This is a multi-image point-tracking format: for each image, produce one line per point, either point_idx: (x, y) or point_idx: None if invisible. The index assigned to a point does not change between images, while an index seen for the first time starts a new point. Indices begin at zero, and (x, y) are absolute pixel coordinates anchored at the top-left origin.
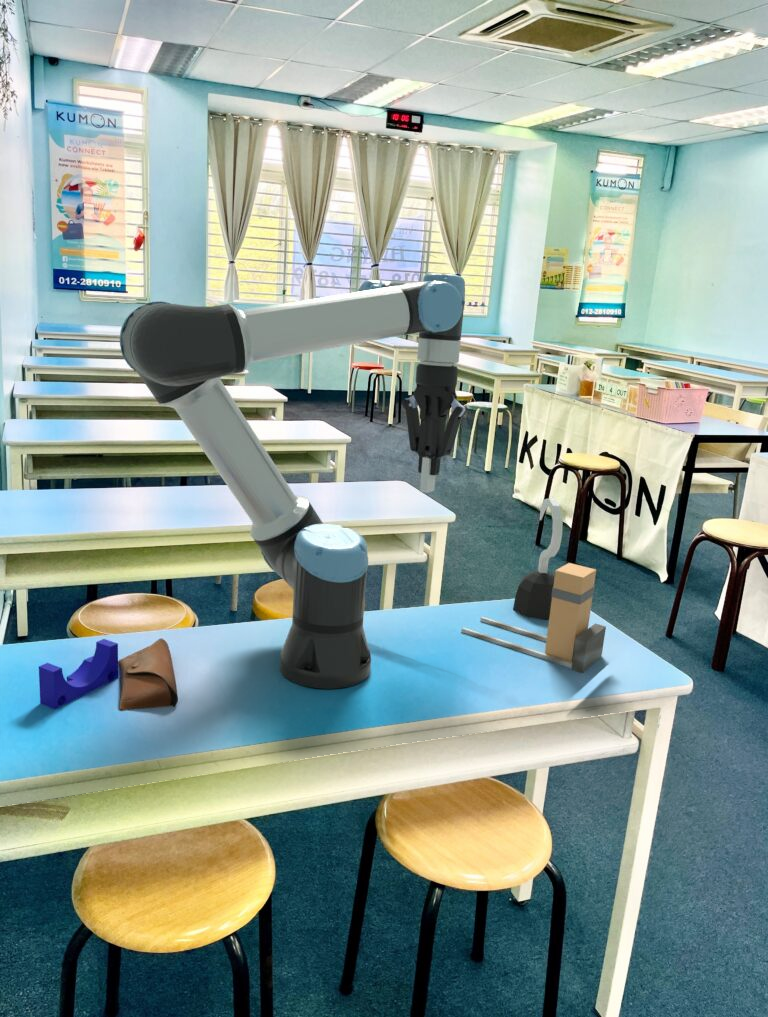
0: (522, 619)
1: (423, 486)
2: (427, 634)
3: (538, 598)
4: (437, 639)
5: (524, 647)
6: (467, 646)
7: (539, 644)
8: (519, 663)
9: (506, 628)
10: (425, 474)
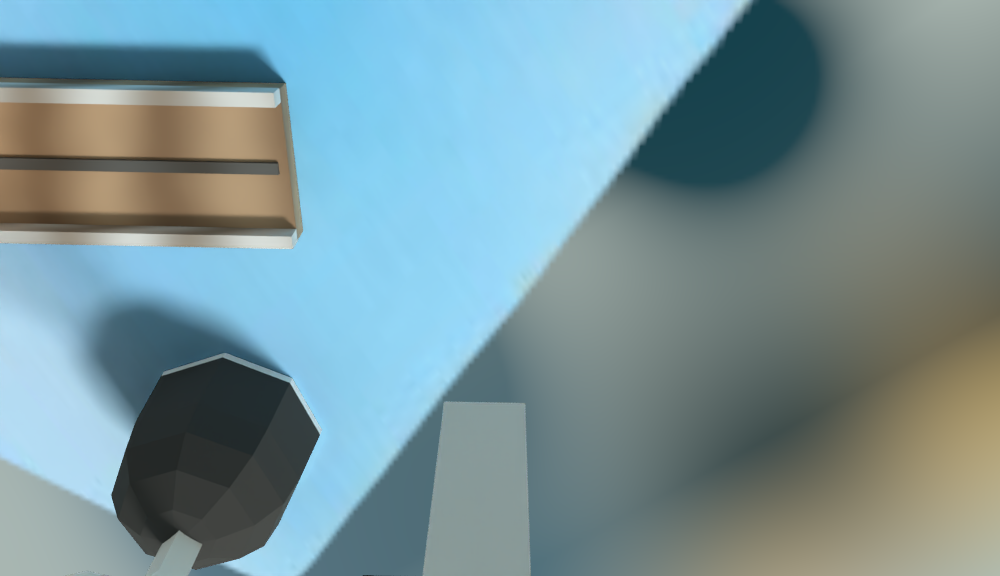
0: None
1: (484, 441)
2: (399, 33)
3: (162, 425)
4: (344, 18)
5: (7, 98)
6: (228, 43)
7: None
8: (15, 43)
9: (186, 230)
10: (464, 546)
